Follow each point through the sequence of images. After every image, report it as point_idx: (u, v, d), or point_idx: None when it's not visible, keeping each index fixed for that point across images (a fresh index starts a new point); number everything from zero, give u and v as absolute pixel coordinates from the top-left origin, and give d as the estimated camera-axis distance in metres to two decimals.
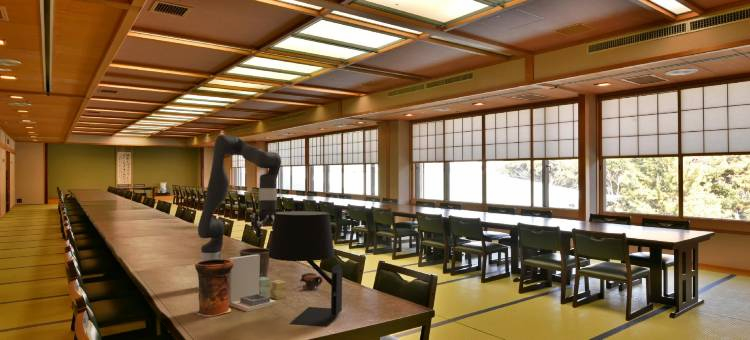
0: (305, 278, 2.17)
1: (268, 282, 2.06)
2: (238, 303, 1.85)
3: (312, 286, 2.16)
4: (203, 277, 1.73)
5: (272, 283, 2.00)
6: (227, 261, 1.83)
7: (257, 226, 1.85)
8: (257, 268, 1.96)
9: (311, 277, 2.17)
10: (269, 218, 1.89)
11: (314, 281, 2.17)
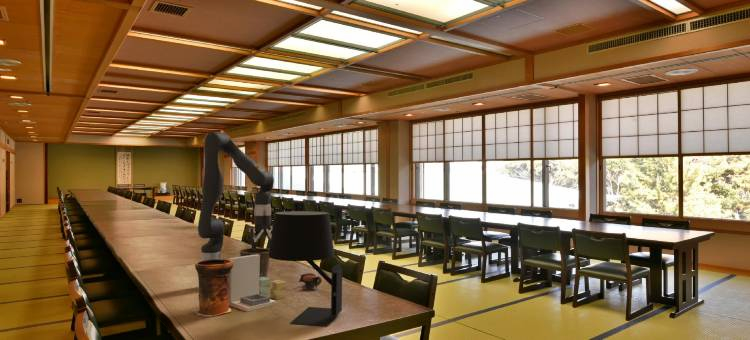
0: (304, 278, 2.16)
1: (268, 282, 2.06)
2: (238, 303, 1.85)
3: (311, 286, 2.15)
4: (203, 277, 1.73)
5: (272, 283, 2.00)
6: (227, 261, 1.83)
7: (253, 239, 2.02)
8: (257, 268, 1.96)
9: (310, 277, 2.17)
10: (264, 232, 2.06)
11: (313, 281, 2.16)
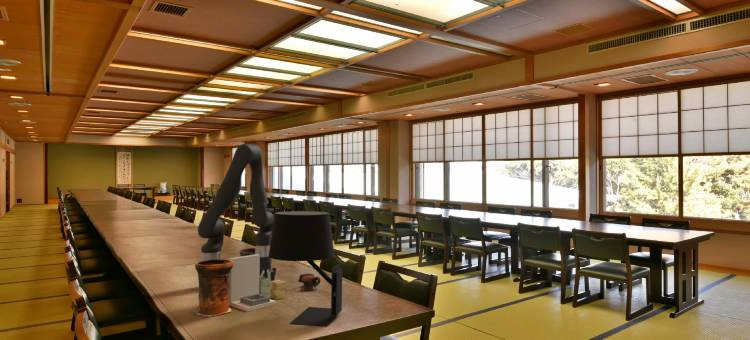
0: (303, 279, 2.16)
1: (268, 282, 2.06)
2: (238, 303, 1.85)
3: (310, 286, 2.14)
4: (203, 276, 1.73)
5: (272, 283, 2.00)
6: (227, 261, 1.83)
7: None
8: (257, 268, 1.96)
9: (309, 278, 2.16)
10: (265, 272, 2.07)
11: (312, 282, 2.16)
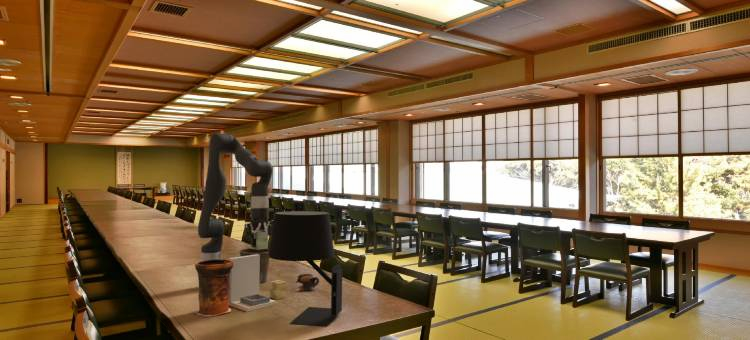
0: (301, 279, 2.15)
1: (265, 236, 1.92)
2: (238, 303, 1.85)
3: (308, 286, 2.14)
4: (203, 277, 1.73)
5: (272, 283, 2.00)
6: (227, 261, 1.83)
7: (252, 236, 1.89)
8: (257, 268, 1.96)
9: (308, 278, 2.15)
10: (261, 226, 1.92)
11: (311, 282, 2.15)
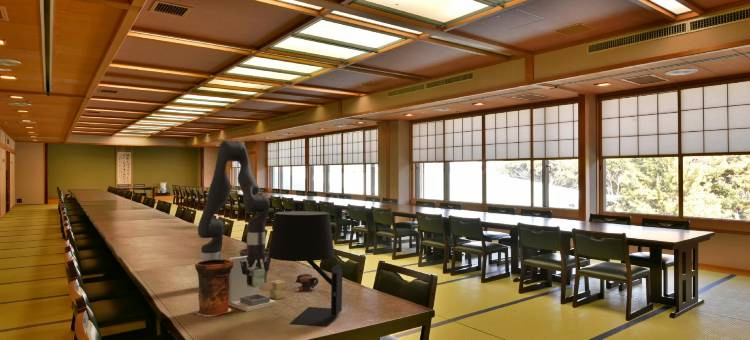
0: (301, 279, 2.14)
1: (262, 273, 1.87)
2: (238, 303, 1.85)
3: (308, 287, 2.13)
4: (203, 277, 1.73)
5: (272, 283, 2.00)
6: (227, 261, 1.83)
7: (248, 273, 1.84)
8: None
9: (307, 278, 2.15)
10: (258, 262, 1.87)
11: (310, 282, 2.15)
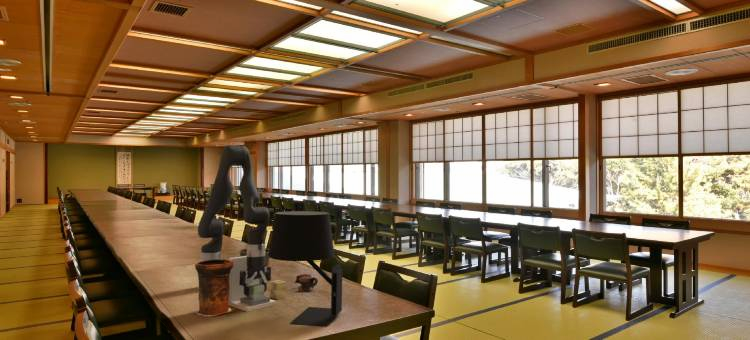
0: (300, 279, 2.14)
1: (261, 289, 1.87)
2: (238, 303, 1.85)
3: (307, 287, 2.13)
4: (203, 277, 1.73)
5: (272, 283, 2.00)
6: (227, 261, 1.83)
7: (245, 284, 1.83)
8: None
9: (306, 278, 2.14)
10: (257, 274, 1.87)
11: (309, 282, 2.14)
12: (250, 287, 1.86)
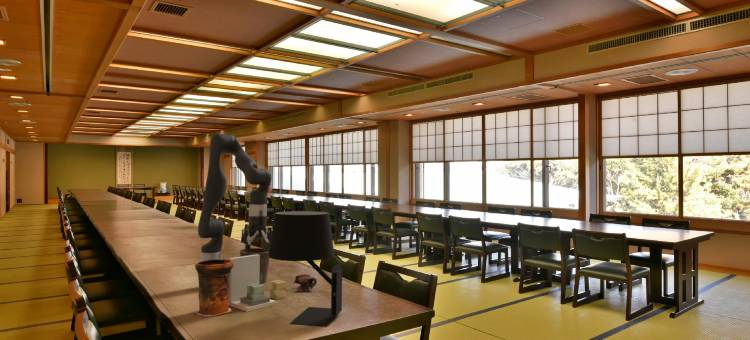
0: (299, 280, 2.13)
1: (261, 289, 1.87)
2: (238, 303, 1.85)
3: (306, 287, 2.12)
4: (203, 277, 1.73)
5: (272, 283, 2.00)
6: (227, 261, 1.83)
7: (247, 242, 1.89)
8: (257, 268, 1.96)
9: (305, 278, 2.14)
10: (259, 233, 1.93)
11: (308, 282, 2.14)
12: (250, 287, 1.86)
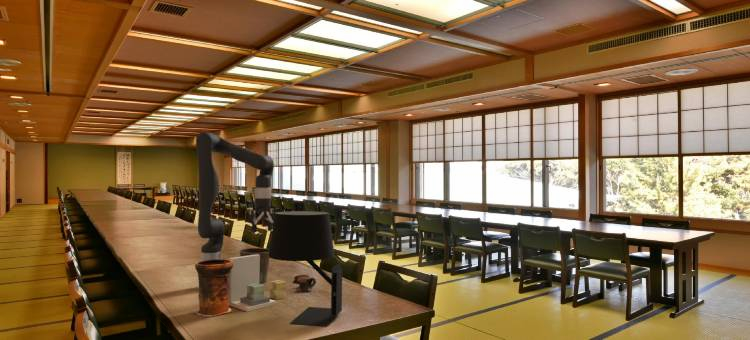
0: (298, 280, 2.13)
1: (261, 289, 1.87)
2: (238, 303, 1.85)
3: (305, 287, 2.12)
4: (203, 277, 1.73)
5: (272, 283, 2.00)
6: (227, 261, 1.83)
7: (253, 221, 2.07)
8: (257, 268, 1.96)
9: (304, 279, 2.13)
10: (264, 214, 2.11)
11: (307, 283, 2.13)
12: (250, 287, 1.86)
